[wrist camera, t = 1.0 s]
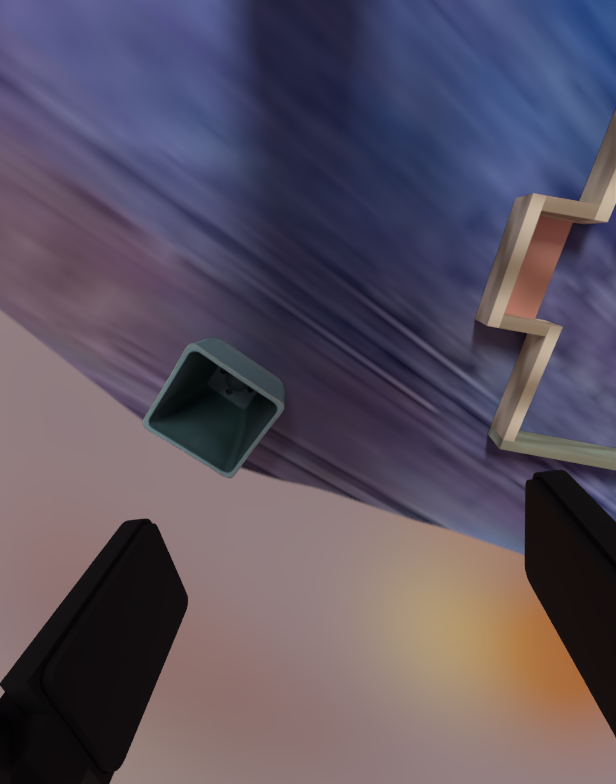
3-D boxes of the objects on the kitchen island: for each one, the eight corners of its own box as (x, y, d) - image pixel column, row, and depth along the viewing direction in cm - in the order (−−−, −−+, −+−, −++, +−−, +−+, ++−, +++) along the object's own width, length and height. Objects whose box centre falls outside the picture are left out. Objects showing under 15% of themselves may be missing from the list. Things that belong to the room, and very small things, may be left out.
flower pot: (298, 370, 37) (287, 406, 29) (252, 433, 40) (229, 481, 32) (224, 318, 36) (189, 340, 28) (182, 387, 39) (139, 425, 31)
